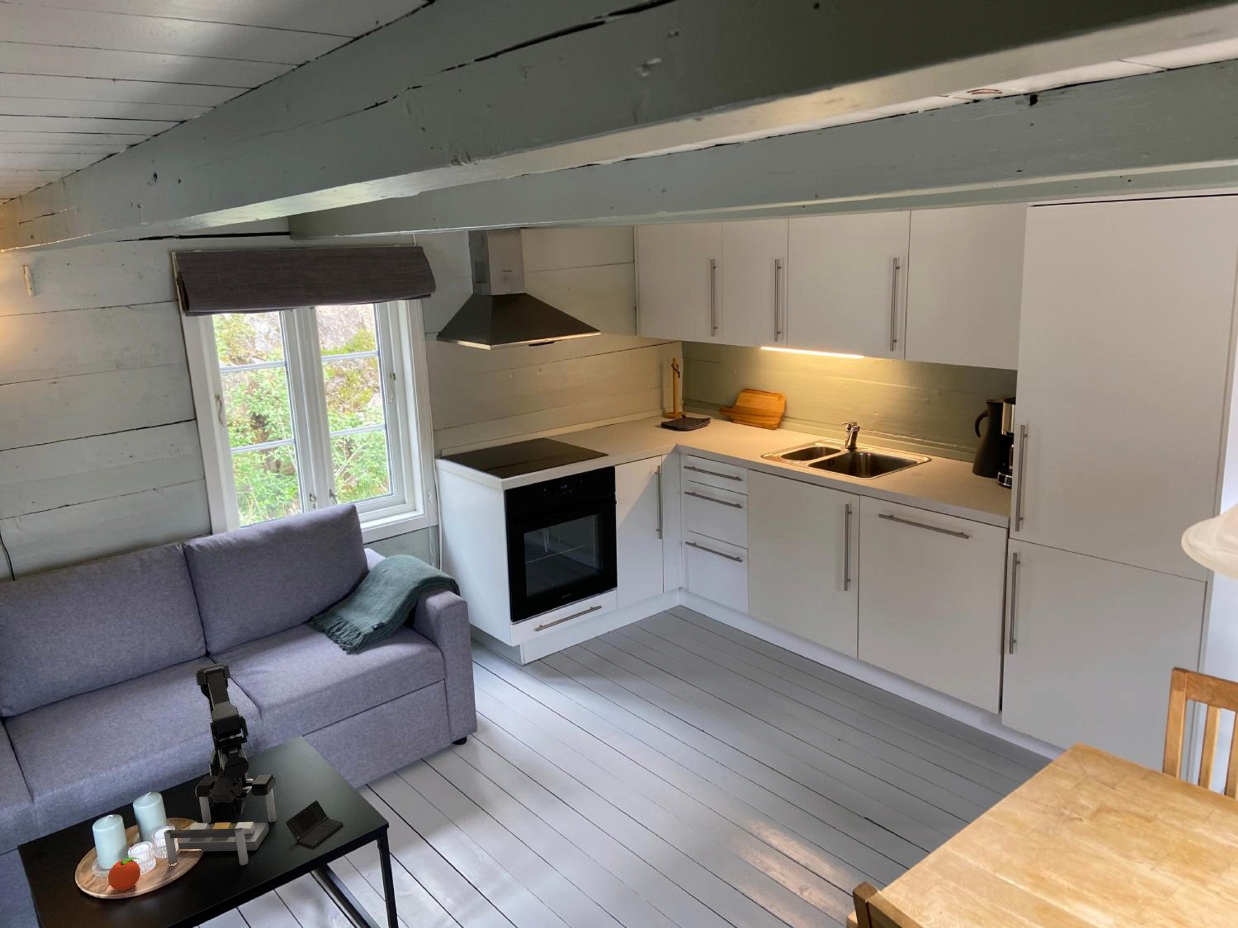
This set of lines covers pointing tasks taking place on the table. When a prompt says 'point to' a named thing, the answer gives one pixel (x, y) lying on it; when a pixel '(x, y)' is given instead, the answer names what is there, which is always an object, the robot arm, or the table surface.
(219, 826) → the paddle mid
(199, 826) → the paddle
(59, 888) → the table surface
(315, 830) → the handheld gaming console
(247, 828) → the paddle
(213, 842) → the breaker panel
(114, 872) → the clementine
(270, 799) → the frame
